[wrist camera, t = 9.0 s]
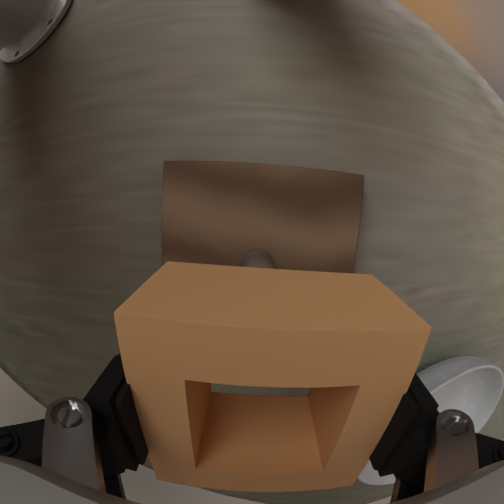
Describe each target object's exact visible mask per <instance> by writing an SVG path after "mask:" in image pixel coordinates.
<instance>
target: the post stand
mask: <svg viewBox="0 0 504 504" xmlns="http://www.w3.org/2000/svg"><path fill="white" fill-rule="evenodd" d="M363 185H364V175H358V174H351V173H344V172H337V171H330V170H321V169H313V168H304V167H294V166H283V165H271V164H258V163H241V162H219V161H164V173H163V196H162V266H163V265H164V264H165V263H166V262H167V261H171V262H184V263H197V264H210V265H224V266H239V267H253V268H269V269H284V270H301V271H318V272H335V273H353V267H354V260H355V254H356V247H357V240H358V232H359V224H360V216H361V206H362V196H363Z"/></svg>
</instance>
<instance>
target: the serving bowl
mask: <svg viewBox="0 0 504 504" xmlns="http://www.w3.org/2000/svg"><path fill="white" fill-rule="evenodd" d="M417 375H418V377H419V378H420V380H421V381H422V382H423V384H424V385H425V386H426V388H427V389H428V391H429V392H430V393H431V395H432V396H433V398H434V399H435V400H436V402H437V403H438V405H439V407H438V408H437V410H438V411H439V413H441V412H442V411H444V410H447V409H456V410H460V411H462V412H464V413H466V414H467V415H468V416H469V417H470V418H471V419H472V421H473V424H474V429H475V433H478V432H479V431H480V430H481V429H482V427H483V426H484V425H485V424H486V422H487V421H488V419H489V418H490V416H491V415H492V413H493V412H494V410H495V408H496V406H497V404H498V402H499V400H500V398H501V395H502V392H503V388H504V374H503V372H502V370H501V369H500V368H499V367H498V366H497V365H495V364H494V363H492V362H490V361H488V360H486V359H484V358H481V357H476V356H458V357H453V358H449V359H446V360H443V361H440V362H438V363H435V364H433V365H431V366H429V367H427V368H425V369H423V370H422V371H420V372H418V373H417ZM358 479H359V480H360V481H361V482H363V483H366V484H370V485H387V484H393V483H395V479H396V478H395V476H394V474H391V475H387V476H383V477H380V476H379V473H378V471H377V470H374V469H373V467H372V465H371V462H370V460H369V461H368V463H367V464H366V466H365V468H364V469H363V471H362V472H361V473H360V475H359V476H358Z"/></svg>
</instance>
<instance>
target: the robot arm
mask: <svg viewBox="0 0 504 504" xmlns="http://www.w3.org/2000/svg"><path fill="white" fill-rule="evenodd" d="M71 1H72V0H0V59H1V60H2V61H4V62H6V63H10V64H11V63H16V62H18V61H20V60H22V59H24V58H25V57H27V56H28V55H30V54H31V53H32V52H33V51H34V50H36V49H37V48H38V47H39V46H40V45H41V44H42V43H43V42H44V41H45V40H46V39H47V37H48V36H49V35H50V34H51V33H52V32H53V30H54V29H55V28H56V27H57V25H58V24H59V22H60V21H61V20H62V18H63V16H64V15H65V13H66V12H67V10H68V8H69V6H70V4H71ZM438 407H439V405H438V403H437V402H436V400H435V399H434V398H433V396H432V395H431V393H430V392H429V391H428V389H427V388H426V386H425V385H424V384H423V382H422V381H421V380H420V378H419V377H418V375H417V374H416V373H415V374H414V376H413V379H412V381H411V383H410V386H409V388H408V390H407V392H406V393H405V394H403V396H402V398H401V400H400V402H399V405H398V407H397V409H396V411H395V413H394V415H393V417H392V418H391V420H390V422H389V424H388V426H387V428H386V430H385V431H384V433H383V435H382V437H381V439H380V440H379V442H378V444H377V445H376V447H375V449H374V450H373V452H372V454H371V455H370V457H369V459H370V462H371V465H372V467H373V469H374V470H377V471H378V473H379V476H380V477H383V476H387V475H391V474H394V476H395V478H396V479H395V484H394V489H393V493H392V497H391V501H390V503H389V504H504V441H502V440H499V439H495V438H492V437H488V436H485V435H482V434H478V433H475V429H474V424H473V421H472V419H471V418H470V417H469V416H468V415H467V414H466V413H464V412H462V411H460V410H456V409H447V410H444V411H442V412H441V413H439V411H438V410H437V408H438ZM148 452H149V450H148V447H147V444H146V441H145V438H144V435H143V431H142V428H141V425H140V421H139V418H138V414H137V411H136V407H135V403H134V399H133V395H132V391H131V387H130V384H127V382H126V377H125V373H124V368H123V364H122V359H121V354H119V355H116V356H115V357H114V358H113V359H112V361H111V362H110V363H109V365H108V366H107V367H106V369H105V370H104V371H103V373H102V374H101V375H100V377H99V378H98V380H97V381H96V382H95V384H94V385H93V387H92V388H91V389H90V391H89V392H88V394H87V395H86V396H85V398H84V399H83V400H82V399H79V398H76V397H64V398H60V399H57V400H55V401H54V402H53V403H51V404H50V406H49V407H48V408H47V411H46V415H45V419H42V420H37V421H32V422H27V423H22V424H17V425H11V426H5V427H1V428H0V504H140V503H136V502H133V501H130V500H126V497H125V493H124V489H123V484H122V480H121V476H120V473H123V472H125V469H130V470H133V471H137V468H138V465H139V464H141V465H143V464H144V463H145V460H146V458H147V455H148Z"/></svg>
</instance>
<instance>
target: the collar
mask: <svg viewBox="0 0 504 504" xmlns="http://www.w3.org/2000/svg"><path fill="white" fill-rule="evenodd" d="M114 318H115V325H116V331H117V337H118V343H119V348H120V354H121V359H122V364H123V368H124V373H125V377H126V382H127V384H130V387H131V391H132V395H133V399H134V403H135V407H136V411H137V414H138V418H139V421H140V425H141V428H142V431H143V435H144V438H145V441H146V444H147V447H148V450H149V452H148V456H149V459H150V461H151V464H152V467H153V469H154V472H155V474H156V477H157V479H158V480H163V481H167V482H172V483H177V484H183V485H188V486H195V487H202V488H210V489H219V490H229V491H245V492H296V491H311V490H322V489H331V488H339V487H346V486H352V485H353V483H354V482H355V481H356V479H357V478H358V476H359V475H360V473H361V472H362V471H363V469H364V468H365V466H366V464H367V463H368V461H369V460H370V459H369V457H370V455H371V454H372V452H373V450H374V449H375V447H376V445H377V444H378V442H379V440H380V439H381V437H382V435H383V433H384V431H385V430H386V428H387V426H388V424H389V422H390V420H391V418H392V417H393V415H394V413H395V411H396V409H397V407H398V405H399V402H400V400H401V398H402V396H403V394H405V393H406V392H407V390H408V388H409V386H410V383H411V381H412V379H413V376H414V374H415V372H416V369H417V367H418V364H419V362H420V359H421V357H422V354H423V351H424V349H425V346H426V343H427V340H428V337H429V334H430V331H431V327H430V326H429V325H428V324H427V323H426V322H425V321H424V320H423V319H422V318H421V317H420V316H418V315H417V314H416V313H415V312H414V311H413V310H412V309H411V308H410V307H409V306H408V305H406V304H405V303H404V302H403V301H402V300H401V299H400V298H399V297H397V296H396V295H395V294H394V293H393V292H392V291H391V290H390V289H388V288H387V287H386V286H385V285H384V284H383V283H382V282H380V281H379V280H378V279H377V278H376V277H375V276H373V275H372V274H354V273H335V272H318V271H301V270H284V269H269V268H253V267H239V266H224V265H210V264H197V263H184V262H171V261H167V262H166V263H165V264H164V265H163V266H162V267H161V268H160V269H159V270H158V271H156V272H155V273H154V274H153V275H152V276H151V277H150V278H149V279H148V280H147V281H146V282H145V283H144V284H143V285H142V286H140V287H139V288H138V289H137V290H136V291H135V292H134V293H133V294H132V295H131V296H130V297H129V298H128V299H127V300H126V301H125V302H124V303H123V304H122V305H121V306H120V307H119V308H118V309H117V310H116V311H115V312H114ZM211 383H216V384H227V385H239V386H255V387H283V388H309V392H308V396H260V395H242V394H229V393H218V392H211Z"/></svg>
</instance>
